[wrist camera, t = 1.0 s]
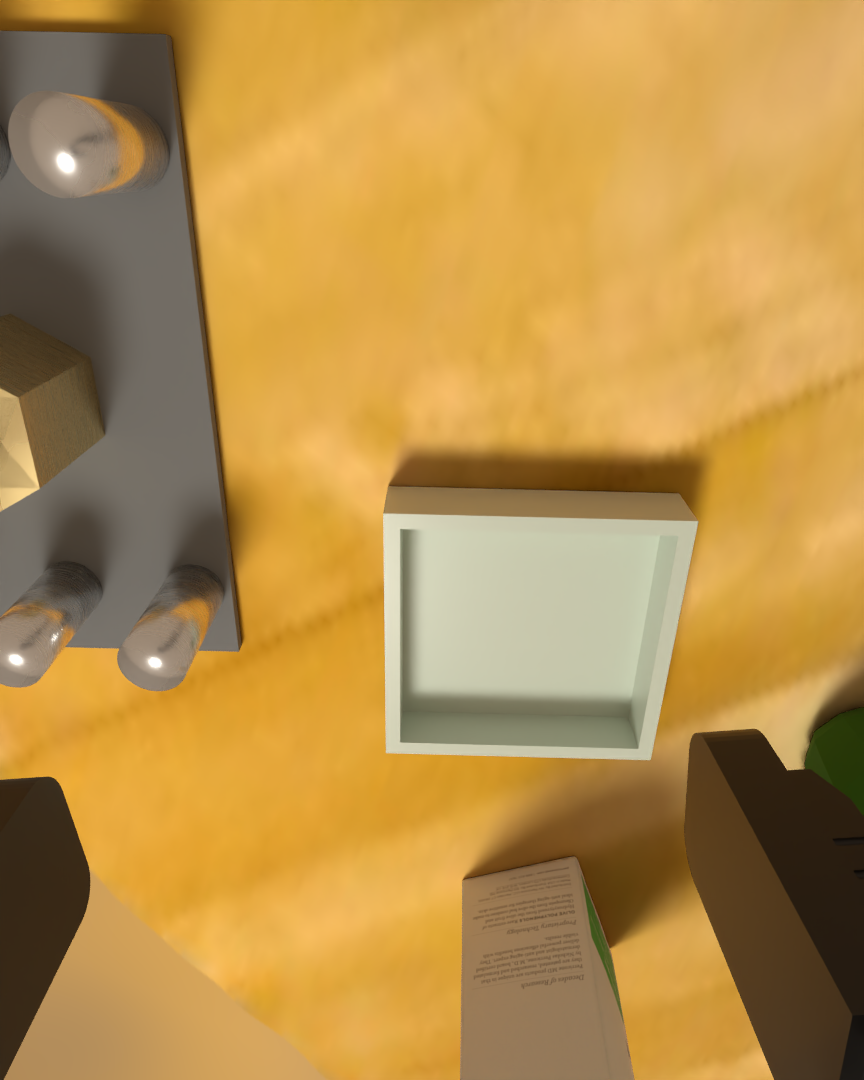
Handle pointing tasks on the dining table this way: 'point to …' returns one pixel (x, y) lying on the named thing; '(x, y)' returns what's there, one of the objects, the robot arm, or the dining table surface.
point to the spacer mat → (116, 351)
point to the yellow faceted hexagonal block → (42, 408)
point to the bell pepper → (841, 754)
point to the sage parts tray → (530, 619)
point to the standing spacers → (68, 587)
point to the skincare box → (538, 980)
